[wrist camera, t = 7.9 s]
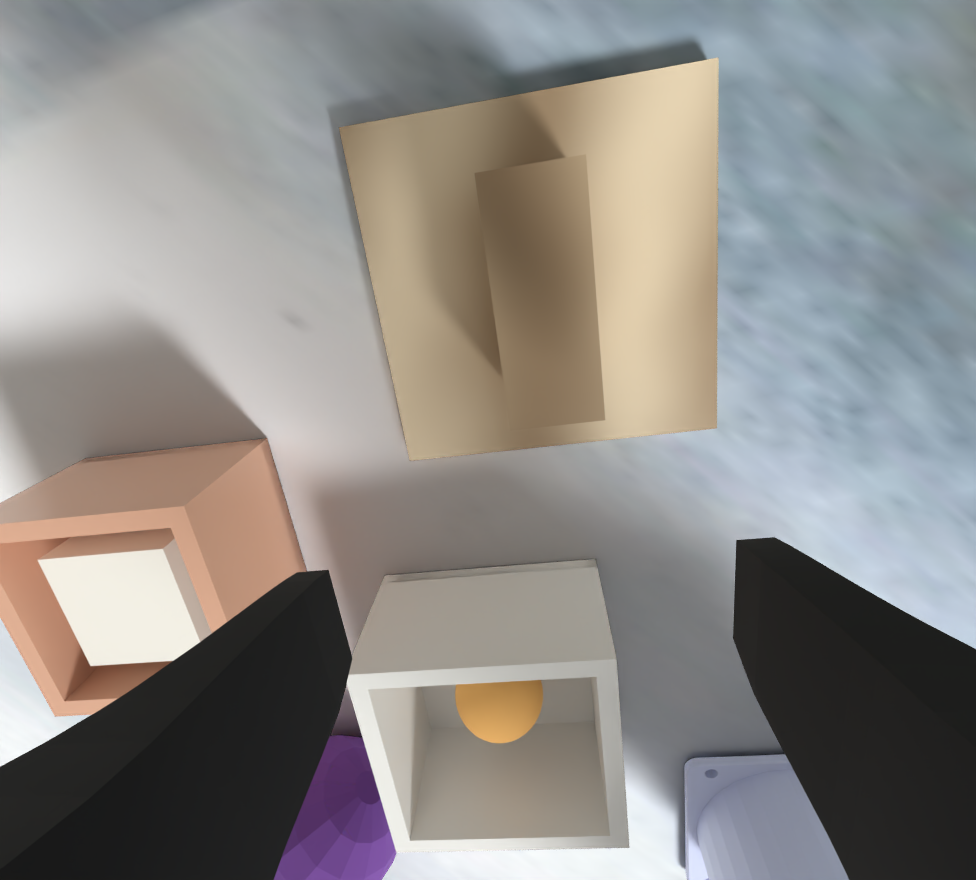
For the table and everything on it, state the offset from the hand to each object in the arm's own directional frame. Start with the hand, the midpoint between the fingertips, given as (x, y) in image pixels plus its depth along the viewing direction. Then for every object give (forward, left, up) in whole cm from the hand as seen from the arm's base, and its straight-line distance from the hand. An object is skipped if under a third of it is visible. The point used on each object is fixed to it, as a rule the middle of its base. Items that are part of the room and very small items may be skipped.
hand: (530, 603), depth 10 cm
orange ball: (+2, +9, -7) cm, 12 cm away
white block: (+13, +3, -9) cm, 16 cm away
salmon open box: (+13, +3, -9) cm, 16 cm away
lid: (-1, -5, -10) cm, 11 cm away
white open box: (+2, +9, -9) cm, 13 cm away
